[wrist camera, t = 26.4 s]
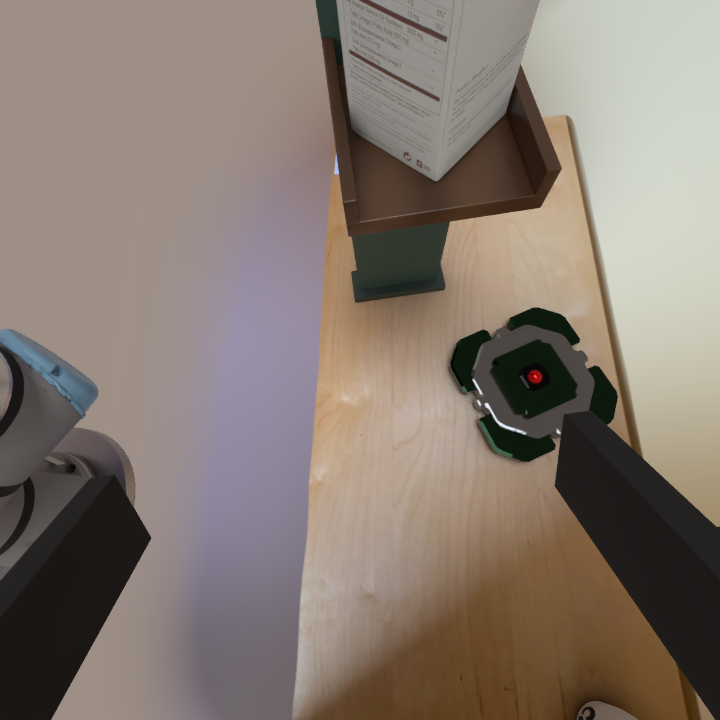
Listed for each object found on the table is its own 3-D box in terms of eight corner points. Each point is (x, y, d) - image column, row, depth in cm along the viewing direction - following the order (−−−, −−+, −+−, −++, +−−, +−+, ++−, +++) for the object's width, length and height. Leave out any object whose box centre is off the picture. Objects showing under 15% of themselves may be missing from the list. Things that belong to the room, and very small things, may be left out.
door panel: (355, 302, 57) (264, -176, 16) (351, 275, 59) (260, -224, 17) (444, 289, 57) (592, -240, 15) (438, 262, 58) (556, -282, 17)
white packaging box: (419, 69, 26) (444, -294, 14) (508, 116, 24) (629, -263, 12) (347, 132, 24) (304, -211, 12) (434, 187, 22) (486, -159, 10)
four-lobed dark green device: (500, 472, 48) (511, 471, 43) (436, 354, 53) (441, 343, 49) (620, 416, 49) (643, 410, 44) (545, 307, 55) (558, 291, 50)
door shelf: (358, 298, 30) (342, 202, 20) (341, 170, 35) (321, 38, 25) (503, 277, 30) (562, 168, 20) (466, 150, 35) (498, 8, 24)
